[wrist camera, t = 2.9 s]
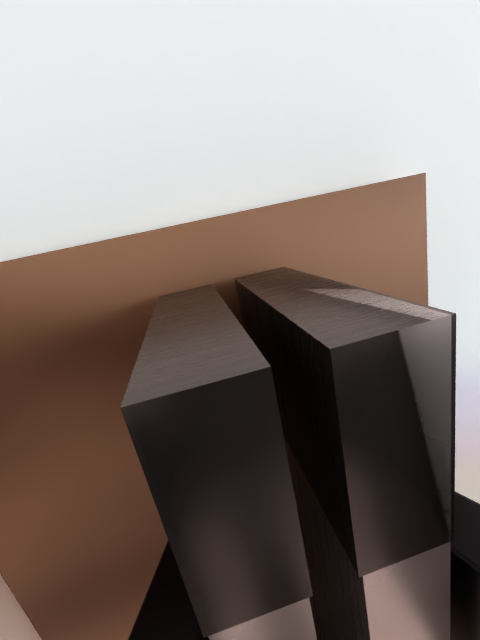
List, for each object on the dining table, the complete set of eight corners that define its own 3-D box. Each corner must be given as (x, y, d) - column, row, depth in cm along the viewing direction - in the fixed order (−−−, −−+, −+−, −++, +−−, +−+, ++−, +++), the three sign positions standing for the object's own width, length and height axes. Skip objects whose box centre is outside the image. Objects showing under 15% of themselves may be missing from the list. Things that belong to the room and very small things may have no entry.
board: (416, 636, 16) (435, 666, 14) (145, 752, 14) (142, 798, 13) (395, 180, 9) (425, 172, 8) (-120, 289, 7) (-174, 299, 6)
